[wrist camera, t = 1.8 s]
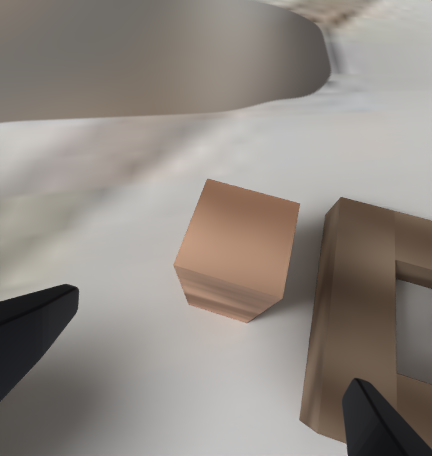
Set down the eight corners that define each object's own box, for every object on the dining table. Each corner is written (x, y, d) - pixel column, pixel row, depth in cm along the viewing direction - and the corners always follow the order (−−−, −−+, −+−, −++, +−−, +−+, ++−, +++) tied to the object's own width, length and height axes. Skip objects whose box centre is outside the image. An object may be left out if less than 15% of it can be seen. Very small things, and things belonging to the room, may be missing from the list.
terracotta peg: (246, 322, 19) (282, 298, 10) (188, 304, 20) (173, 264, 11) (259, 266, 21) (299, 203, 12) (206, 250, 21) (207, 178, 12)
